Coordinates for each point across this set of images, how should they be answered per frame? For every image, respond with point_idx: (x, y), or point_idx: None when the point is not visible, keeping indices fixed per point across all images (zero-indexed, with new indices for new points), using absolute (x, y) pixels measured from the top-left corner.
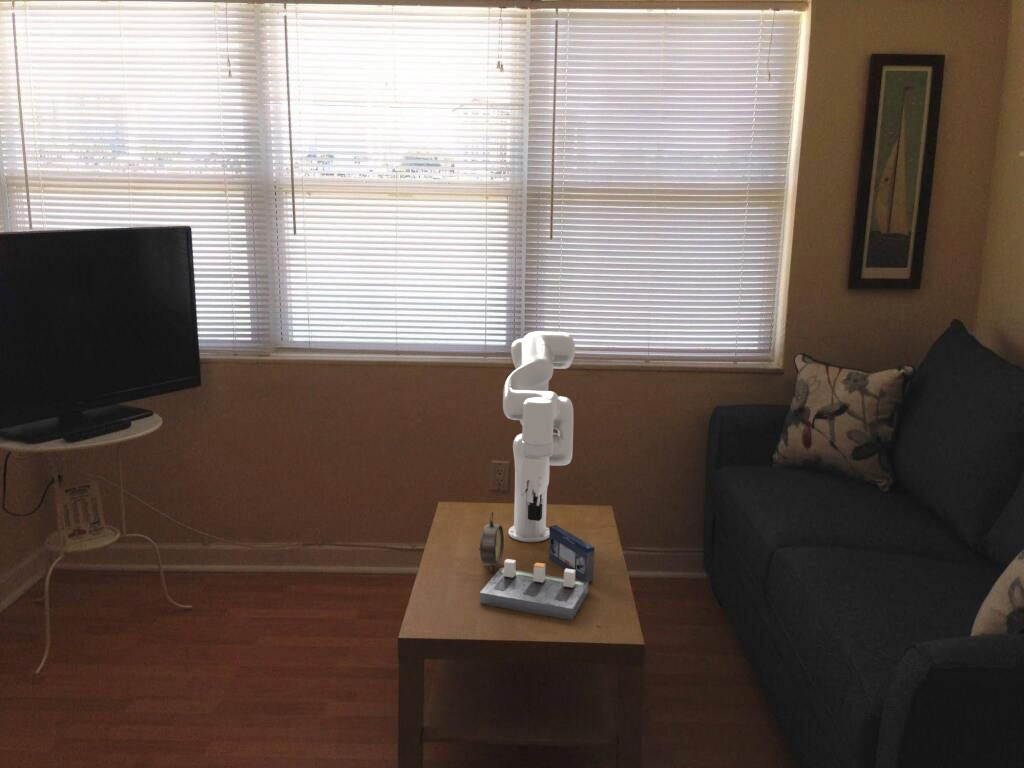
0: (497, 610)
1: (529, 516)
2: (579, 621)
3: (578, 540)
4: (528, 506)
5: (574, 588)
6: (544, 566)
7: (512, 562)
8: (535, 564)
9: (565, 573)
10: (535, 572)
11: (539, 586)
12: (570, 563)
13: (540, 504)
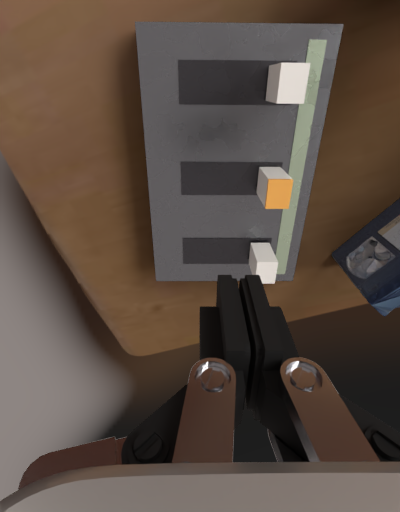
0: (127, 99)
1: (219, 292)
2: None
3: None
4: (225, 337)
5: None
6: (277, 207)
7: (281, 97)
8: (277, 182)
9: (255, 263)
10: (264, 179)
11: (236, 189)
12: (397, 221)
13: (254, 412)
